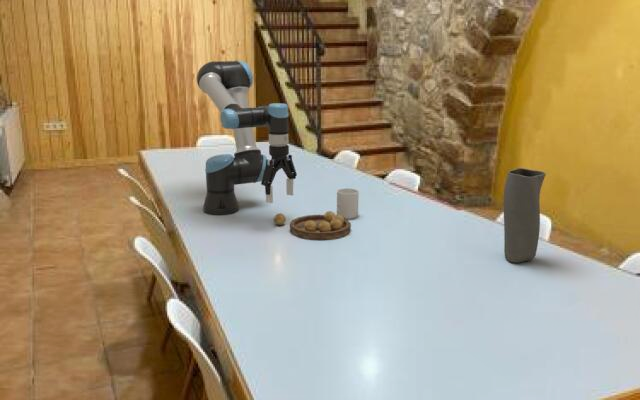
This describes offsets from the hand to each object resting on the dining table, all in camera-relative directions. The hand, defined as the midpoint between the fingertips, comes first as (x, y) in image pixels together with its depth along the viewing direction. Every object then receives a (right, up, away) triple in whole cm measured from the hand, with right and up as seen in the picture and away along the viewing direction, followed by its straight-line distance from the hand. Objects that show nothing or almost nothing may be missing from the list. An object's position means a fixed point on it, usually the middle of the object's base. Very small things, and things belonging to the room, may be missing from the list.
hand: (279, 198), depth 228 cm
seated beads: (+19, -12, -5) cm, 23 cm away
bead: (0, -10, +3) cm, 11 cm away
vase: (+82, -21, -31) cm, 90 cm away
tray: (+16, -12, -3) cm, 20 cm away
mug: (+27, -7, +16) cm, 32 cm away
